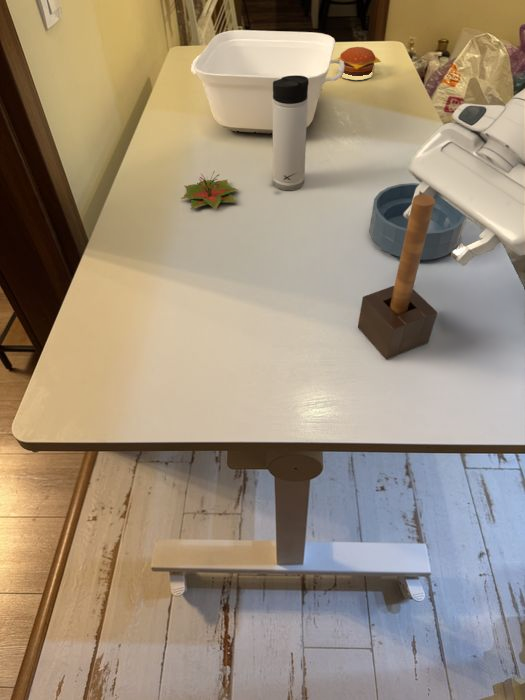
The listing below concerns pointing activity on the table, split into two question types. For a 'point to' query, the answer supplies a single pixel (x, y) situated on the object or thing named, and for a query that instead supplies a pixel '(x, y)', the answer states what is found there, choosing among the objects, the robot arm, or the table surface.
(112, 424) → the table surface
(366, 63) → the hamburger
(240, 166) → the table surface
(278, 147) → the travel mug
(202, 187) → the lily flower
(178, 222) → the table surface
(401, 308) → the stirring stick
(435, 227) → the bowl
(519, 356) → the table surface
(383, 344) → the holder
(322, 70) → the white plastic tub
